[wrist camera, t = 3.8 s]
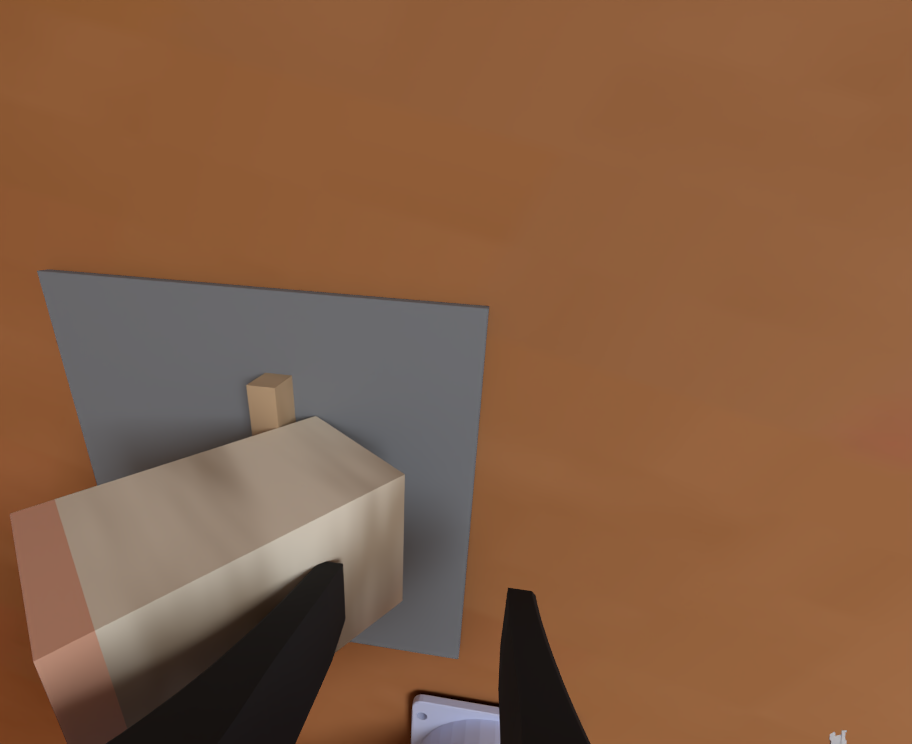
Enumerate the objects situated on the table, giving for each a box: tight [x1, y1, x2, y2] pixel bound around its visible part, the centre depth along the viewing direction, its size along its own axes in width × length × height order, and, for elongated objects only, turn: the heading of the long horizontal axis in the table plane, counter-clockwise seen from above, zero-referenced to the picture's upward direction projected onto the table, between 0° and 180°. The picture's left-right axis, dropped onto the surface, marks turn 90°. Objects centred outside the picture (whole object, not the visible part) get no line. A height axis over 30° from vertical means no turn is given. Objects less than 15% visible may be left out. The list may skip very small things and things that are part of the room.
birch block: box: [10, 416, 405, 744], centre depth 12 cm, size 5×5×8 cm
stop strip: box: [246, 373, 296, 436], centre depth 16 cm, size 8×1×1 cm, turn 177°
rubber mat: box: [37, 270, 489, 659], centre depth 17 cm, size 16×16×1 cm
